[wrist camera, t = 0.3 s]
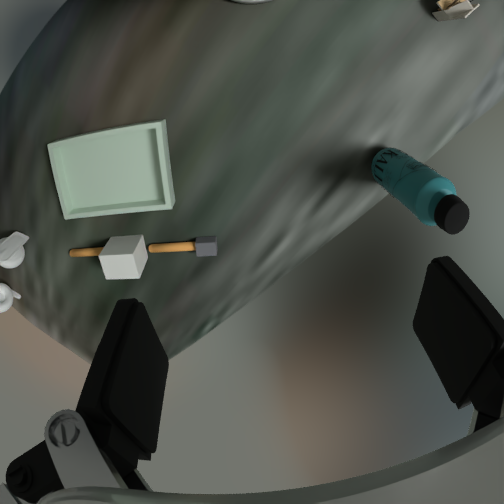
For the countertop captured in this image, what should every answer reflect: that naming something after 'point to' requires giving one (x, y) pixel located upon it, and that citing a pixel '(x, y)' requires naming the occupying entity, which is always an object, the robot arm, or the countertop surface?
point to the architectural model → (453, 9)
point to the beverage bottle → (420, 190)
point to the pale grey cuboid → (124, 257)
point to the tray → (113, 170)
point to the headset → (10, 264)
